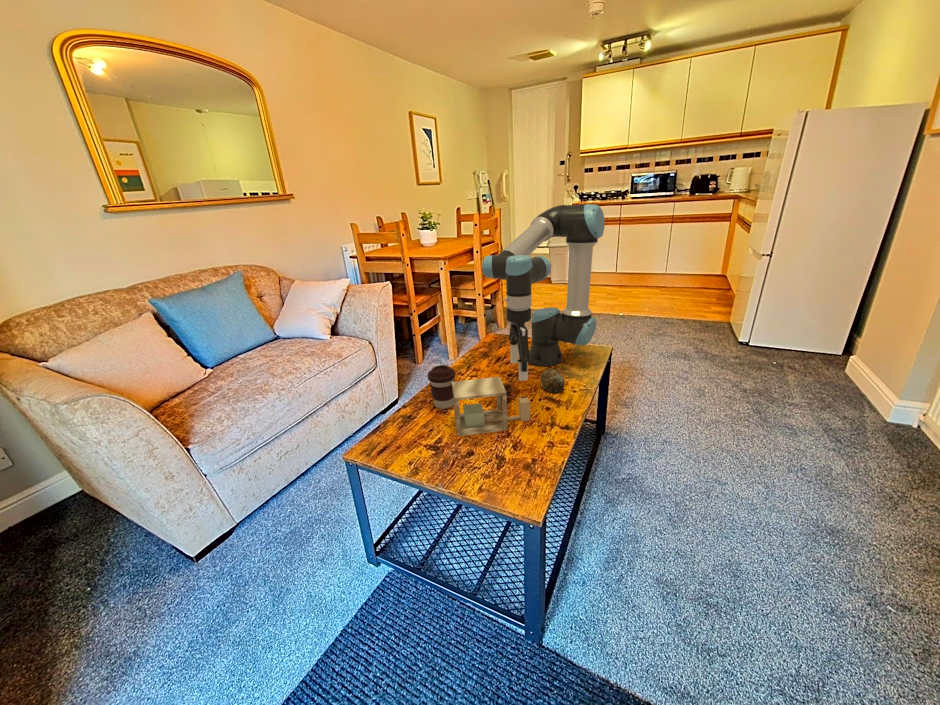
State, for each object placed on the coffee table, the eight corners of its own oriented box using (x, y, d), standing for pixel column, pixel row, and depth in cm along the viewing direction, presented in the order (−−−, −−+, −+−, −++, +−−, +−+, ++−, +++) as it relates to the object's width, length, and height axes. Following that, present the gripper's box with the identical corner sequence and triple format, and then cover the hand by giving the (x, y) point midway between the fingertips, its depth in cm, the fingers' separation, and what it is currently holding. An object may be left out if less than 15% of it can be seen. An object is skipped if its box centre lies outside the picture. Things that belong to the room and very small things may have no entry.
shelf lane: (500, 414, 137) (499, 376, 131) (507, 432, 127) (506, 392, 121) (455, 420, 135) (451, 381, 129) (458, 438, 125) (454, 398, 119)
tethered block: (526, 415, 135) (526, 395, 132) (531, 425, 130) (531, 404, 126) (464, 423, 133) (463, 402, 130) (466, 433, 128) (465, 412, 125)
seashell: (559, 398, 144) (560, 378, 141) (535, 393, 149) (535, 374, 146) (569, 385, 153) (570, 366, 150) (546, 380, 158) (547, 362, 155)
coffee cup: (437, 415, 138) (433, 377, 133) (427, 403, 147) (422, 367, 141) (462, 407, 142) (459, 370, 137) (451, 396, 151) (447, 360, 145)
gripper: (499, 298, 131) (500, 357, 139) (514, 320, 108) (515, 389, 116) (521, 297, 132) (521, 355, 140) (541, 318, 109) (540, 387, 117)
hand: (518, 371), depth 128 cm, fingers open, 13 cm apart
